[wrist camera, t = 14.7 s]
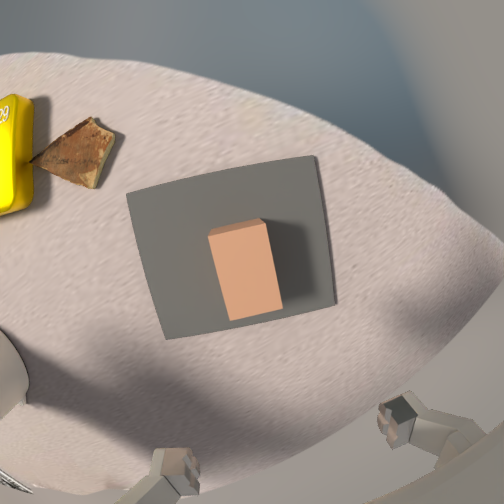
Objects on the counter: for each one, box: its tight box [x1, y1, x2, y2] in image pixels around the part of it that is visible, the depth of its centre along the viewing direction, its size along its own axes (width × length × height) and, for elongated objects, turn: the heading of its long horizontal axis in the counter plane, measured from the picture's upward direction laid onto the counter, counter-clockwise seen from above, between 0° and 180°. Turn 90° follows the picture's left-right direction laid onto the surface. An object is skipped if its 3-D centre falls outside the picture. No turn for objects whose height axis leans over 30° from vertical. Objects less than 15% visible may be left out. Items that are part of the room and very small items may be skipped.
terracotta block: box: [208, 218, 283, 321], centre depth 27 cm, size 5×5×8 cm
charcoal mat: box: [126, 155, 335, 340], centre depth 30 cm, size 20×17×1 cm
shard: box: [29, 117, 115, 189], centre depth 26 cm, size 11×8×2 cm
